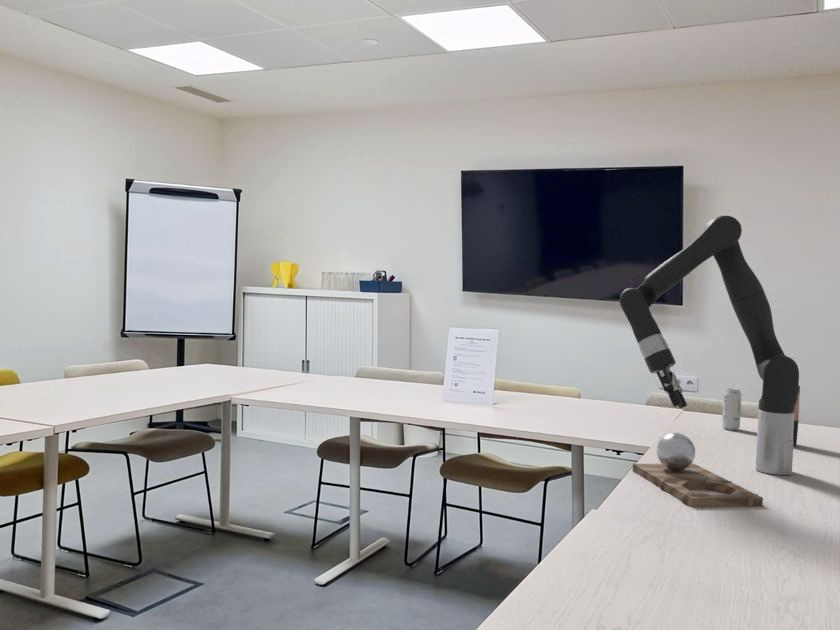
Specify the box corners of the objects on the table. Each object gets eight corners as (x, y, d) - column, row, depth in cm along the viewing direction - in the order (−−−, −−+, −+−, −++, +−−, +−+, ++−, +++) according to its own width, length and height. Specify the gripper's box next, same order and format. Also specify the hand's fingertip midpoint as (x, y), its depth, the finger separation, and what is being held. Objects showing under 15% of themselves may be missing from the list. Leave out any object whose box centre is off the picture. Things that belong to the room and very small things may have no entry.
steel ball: (695, 468, 210) (697, 431, 209) (693, 476, 201) (695, 438, 200) (657, 463, 214) (659, 428, 213) (653, 471, 205) (655, 434, 204)
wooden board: (630, 470, 213) (630, 463, 213) (695, 470, 215) (695, 463, 215) (689, 507, 179) (689, 498, 179) (765, 506, 181) (766, 498, 181)
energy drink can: (737, 431, 278) (739, 390, 277) (720, 429, 281) (722, 388, 280) (740, 429, 283) (742, 388, 282) (723, 427, 286) (725, 387, 285)
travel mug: (800, 447, 252) (803, 387, 251) (775, 445, 254) (778, 385, 253) (793, 442, 260) (796, 384, 259) (769, 441, 261) (772, 382, 260)
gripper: (664, 345, 210) (689, 399, 204) (673, 350, 222) (698, 402, 217) (638, 356, 213) (663, 410, 207) (649, 361, 225) (672, 412, 220)
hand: (680, 406), depth 212 cm, fingers open, 8 cm apart
